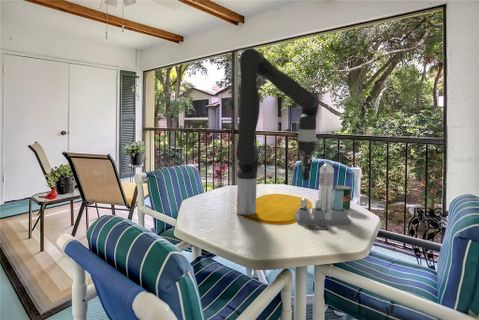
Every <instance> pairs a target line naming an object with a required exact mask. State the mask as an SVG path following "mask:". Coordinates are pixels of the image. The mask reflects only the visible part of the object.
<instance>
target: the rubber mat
mask: <svg viewBox="0 0 479 320" xmlns="http://www.w3.org/2000/svg"><path fill="white" fill-rule="evenodd" d="M306 227H307V229H308V230H309V231H310V230H313V231H315V230H316V231H329V228H328V226H327V224H306Z"/></svg>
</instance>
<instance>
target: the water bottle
mask: <svg viewBox="0 0 479 320" xmlns="http://www.w3.org/2000/svg"><path fill="white" fill-rule="evenodd" d="M324 162H325V163H324V164H322V165H321V166H320V168H319V177H318V179H319V180H318V183H319V184H318V195H317V197H318V198H317V199H322V208H323V209H324V211H325V213H327V207H332V202H333V190H334V176H335V175H334V173H335V169H334V167H333V166H332V164H330V160H325V161H324Z"/></svg>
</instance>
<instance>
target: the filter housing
mask: <svg viewBox="0 0 479 320" xmlns="http://www.w3.org/2000/svg"><path fill="white" fill-rule="evenodd" d="M348 213H349V212H348V210H345V209H344V208H343V209H342V211H332V207H327V212H325V211H324V209H323V208H322V211H315V207H312V208H311V210H310V209H309V207H307V210H301V207H297V212H294V218H296V219H295V221H296V223H297V224H298V225H303V224H304V225H307V224H315V225H337V226H340V225H341V226H351V225H352V219H351V218H349V215H348Z"/></svg>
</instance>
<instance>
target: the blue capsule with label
mask: <svg viewBox="0 0 479 320" xmlns="http://www.w3.org/2000/svg"><path fill="white" fill-rule="evenodd" d="M343 194H344V191H343V189H342V188H335V187H333V198H332V211H342V209H343Z"/></svg>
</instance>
